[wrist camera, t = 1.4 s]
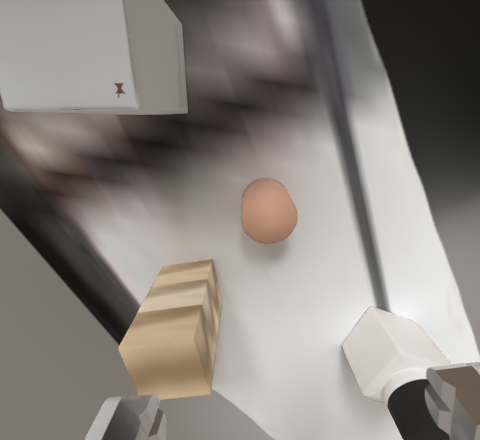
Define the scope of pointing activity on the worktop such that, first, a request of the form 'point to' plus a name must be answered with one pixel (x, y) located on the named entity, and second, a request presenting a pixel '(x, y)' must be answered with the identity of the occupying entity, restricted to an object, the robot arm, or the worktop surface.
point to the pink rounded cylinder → (267, 211)
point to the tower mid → (184, 301)
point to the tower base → (192, 278)
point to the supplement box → (92, 57)
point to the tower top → (170, 353)
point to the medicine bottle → (396, 369)
